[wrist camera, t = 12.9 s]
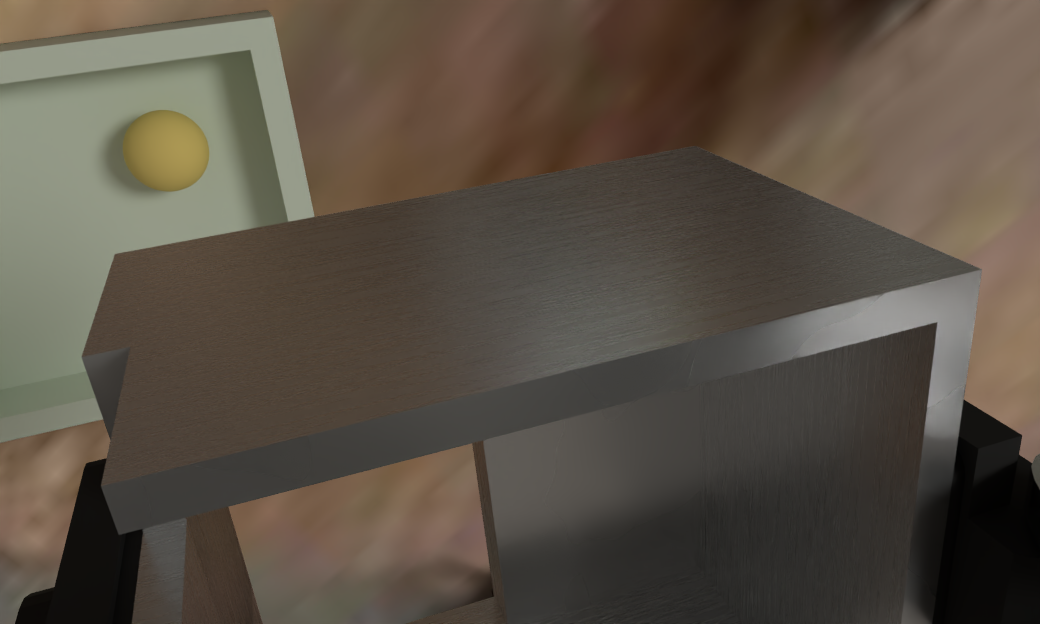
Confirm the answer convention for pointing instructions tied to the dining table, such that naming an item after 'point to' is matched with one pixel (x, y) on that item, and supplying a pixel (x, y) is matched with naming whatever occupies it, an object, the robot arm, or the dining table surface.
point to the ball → (165, 150)
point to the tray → (122, 182)
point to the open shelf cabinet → (558, 393)
